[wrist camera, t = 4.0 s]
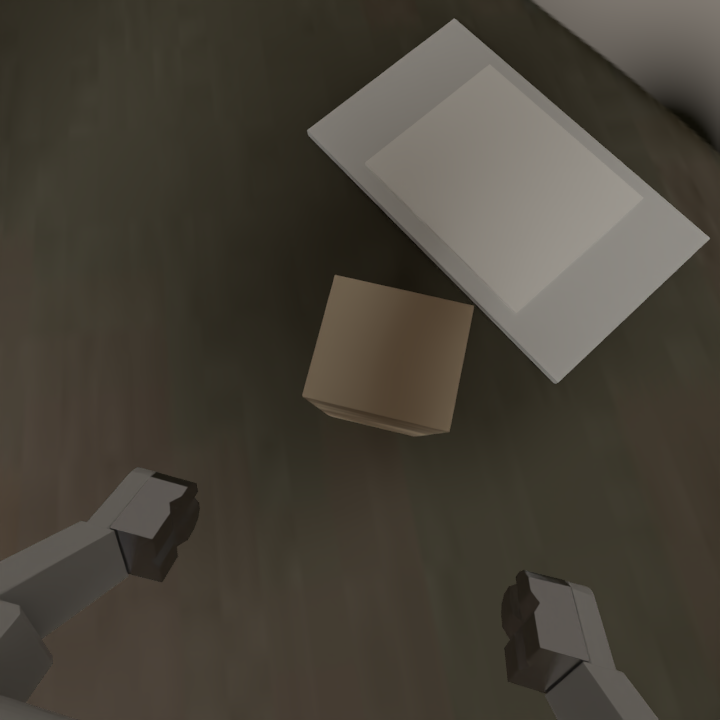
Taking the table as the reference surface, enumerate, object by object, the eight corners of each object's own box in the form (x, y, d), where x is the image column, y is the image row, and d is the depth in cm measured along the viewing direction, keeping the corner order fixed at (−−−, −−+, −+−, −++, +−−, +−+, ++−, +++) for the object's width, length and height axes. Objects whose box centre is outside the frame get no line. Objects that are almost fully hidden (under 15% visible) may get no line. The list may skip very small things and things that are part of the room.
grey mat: (704, 241, 23) (713, 236, 22) (554, 383, 21) (559, 382, 21) (453, 24, 26) (455, 14, 25) (308, 135, 24) (306, 127, 24)
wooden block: (328, 415, 21) (301, 396, 12) (347, 342, 22) (334, 274, 13) (414, 436, 21) (449, 432, 12) (429, 361, 22) (474, 305, 13)
